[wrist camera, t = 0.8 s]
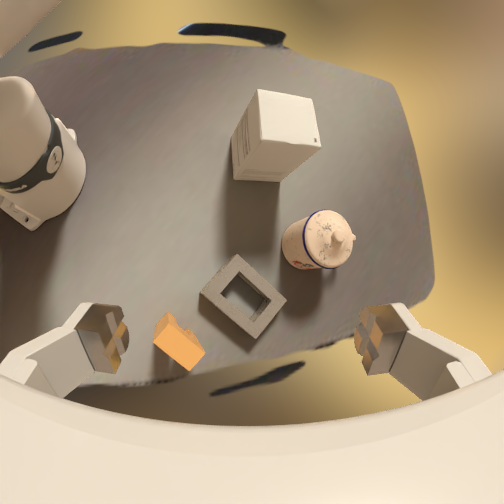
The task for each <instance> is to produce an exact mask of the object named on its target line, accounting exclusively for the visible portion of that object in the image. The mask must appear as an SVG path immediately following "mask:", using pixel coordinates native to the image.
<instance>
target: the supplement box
mask: <svg viewBox="0 0 504 504" xmlns="http://www.w3.org/2000/svg"><path fill="white" fill-rule="evenodd" d="M231 144H232V162H233V179H234V180H251V181H271V182H281V181H282V180H283V179H284V178H285V177H287V176H288V175H289V174H290V173H291V172H293V171H294V170H295V169H296V168H297V167H299V166H300V165H301V164H302V163H303V162H305V161H306V160H307V159H308V158H309V157H311V156H312V155H313V154H314V153H316V152H317V151H318V150H319V149H321V143H320V138H319V133H318V128H317V123H316V117H315V112H314V106H313V102H312V99H309V98H304V97H299V96H294V95H289V94H283V93H278V92H272V91H266V90H259V89H257V90H256V92H255V94H254V96H253V97H252V99H251V101H250V103H249V105H248V107H247V108H246V110H245V112H244V114H243V116H242V118H241V119H240V121H239V123H238V125H237V127H236V129H235V131H234V133H233V135H232V137H231Z"/></svg>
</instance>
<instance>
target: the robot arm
mask: <svg viewBox="0 0 504 504" xmlns="http://www.w3.org/2000/svg"><path fill="white" fill-rule="evenodd" d="M60 1H61V0H0V59H1V58H2V57H3V56H4V55H5V54H6V53H7V52H8V51H9V50H10V49H11V48H13V46H15V45H16V44H17V43H18V42H19V41H20V40H22V39H23V38H24V37H25V36H26V35H27V34H28V33H29V32H30V31H31V30H32V29H33V28H34V27H35V26H36V25H37V24H38V23H39V22H40V21H41V20H42V19H43V18H44V17H45V16H46V15H47V14H48V13H49V12H50V11H51V10H52V9H53V8H54V7H55V6H56V5H57V4H58V3H59V2H60ZM85 174H86V164H85V159H84V156H83V154H82V152H81V151H80V149H79V148H78V145H77V137H76V133H75V132H74V130H72V129H66V128H65V126H64V125H63V124H62V122H61V121H60V120H59V119H58V118H56V119H55V118H54V117H53V116H52V114H50V112H49V111H48V110H47V109H45V108H44V107H43V105H42V103H41V101H40V99H39V98H38V96H37V94H36V92H35V90H34V88H33V86H32V85H31V84H30V83H29V82H28V81H27V80H25V79H24V78H21V77H15V76H12V77H4V78H0V208H1V209H3V210H4V211H5V212H6V213H8V214H9V215H10V216H11V217H13V218H14V219H15V220H17V221H18V222H19V223H21V224H22V225H23V226H25V227H26V228H27V229H29V230H30V231H33V230H35V229H37V228H38V227H39V226H40V225H41V224H42V223H43V222H44V221H45V220H47V219H50V218H52V217H55V216H57V215H59V214H61V213H62V212H64V211H65V210H66V209H67V208H68V207H69V206H70V205H71V204H72V203H73V202H74V201H75V199H76V198H77V196H78V195H79V193H80V191H81V189H82V186H83V183H84V180H85ZM27 218H29V220H28V222H27V221H26V220H27ZM123 317H124V315H123V312H122V308H121V307H119V306H116V305H107V304H98V303H87V302H84V303H81V304H80V305H79V306H78V307H77V309H76V310H75V311H74V312H73V314H72V315H71V316H70V317H69V319H68V320H67V321H66V322H65V324H64V325H63V326H62V327H57V328H55V329H53V330H51V331H49V332H47V333H45V334H43V335H41V336H39V337H37V338H35V339H33V340H31V341H29V342H27V343H25V344H23V345H21V346H19V347H17V348H15V349H14V350H12V351H10V352H9V354H8V355H7V356H6V357H5V359H4V360H3V361H2V363H1V364H0V504H504V369H503V370H501V371H499V372H497V373H495V374H493V375H492V374H491V372H490V371H489V369H488V368H487V367H486V365H485V364H484V363H483V361H482V360H481V359H480V357H479V356H478V355H477V354H476V353H474V352H472V351H470V350H468V349H466V348H464V347H462V346H460V345H458V344H456V343H454V342H452V341H450V340H448V339H447V338H445V337H442V336H441V335H439V334H437V333H435V332H433V331H431V330H429V329H426V328H425V329H422V327H421V326H420V325H419V323H418V322H417V321H416V319H415V318H414V317H413V316H412V314H411V313H410V312H409V310H408V309H407V308H406V307H405V305H404V304H402V303H394V304H388V305H377V306H366V307H362V309H361V311H360V315H359V318H360V320H361V323H360V324H359V325H358V326H357V327H356V330H355V335H354V343H355V348H356V350H357V352H358V354H360V355H361V356H363V360H362V364H363V366H364V369H365V371H366V373H367V375H375V374H382V373H389V372H390V373H389V374H390V375H392V376H393V377H394V378H395V379H397V380H398V381H399V382H400V383H402V384H403V385H404V386H405V387H407V388H408V389H409V390H410V391H411V392H413V393H414V394H415V395H416V396H418V397H419V398H420V399H421V400H422V401H421V402H417V403H414V404H411V405H406V406H403V407H399V408H395V409H391V410H386V411H382V412H378V413H373V414H368V415H363V416H357V417H351V418H345V419H339V420H332V421H324V422H315V423H306V424H293V425H278V426H213V425H199V424H186V423H177V422H168V421H160V420H154V419H147V418H141V417H135V416H130V415H124V414H120V413H115V412H111V411H106V410H102V409H98V408H94V407H90V406H86V405H83V404H79V403H75V402H72V401H69V400H66V399H63V397H65V396H66V395H67V394H68V393H70V392H71V391H72V390H73V389H74V388H76V387H77V386H78V385H79V384H81V383H82V382H83V381H84V380H86V379H87V378H88V377H89V376H91V375H92V374H93V373H94V372H95V371H98V372H105V373H111V374H116V372H117V369H118V367H119V365H120V363H121V358H120V355H122V354H123V353H125V352H126V350H127V348H128V344H129V332H128V329H127V326H126V325H125V324H124V323H123V322H122V319H123Z"/></svg>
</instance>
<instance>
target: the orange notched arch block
mask: <svg viewBox="0 0 504 504" xmlns="http://www.w3.org/2000/svg"><path fill="white" fill-rule="evenodd" d="M153 343H154V344H156V345H157V346H158V347H159V348H160V349H162V350H163V351H164V352H165V353H167V354H168V355H169V356H170V357H172V358H173V359H174V360H175V361H177V362H178V363H179V364H181V365H182V366H183V367H184V368H186V369H187V370H188V371H190V370H191V369H192V368H193V367H194V366H195V364H196V363H197V362H198V361H199V360H200V359H201V358H202V356H203V355H204V354H205V351H204V350H203V348H202V346H201V345H200V343H199V341H198V340H197V338H196V336H195V335H194V333H192V332H191V331H190V330H189V329H188V328H187V329H186V330H185V331H184V330H183V329H181V328H180V327H179V326H178V325H177V323H176V320H175V317H174V316H172V315H171V314H170V313H169V312H167V313H166V314H165V315H164V316H163V317H162V319H161V320H160V321H159V322H158V323H157V324H156V326H155V332H154V338H153Z"/></svg>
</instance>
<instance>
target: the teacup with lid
mask: <svg viewBox="0 0 504 504" xmlns="http://www.w3.org/2000/svg"><path fill="white" fill-rule="evenodd" d="M355 240H356V238H355V235H354V234H352V232H351V229H350V227H349V225H348V223H347V222H346V220H345V219H344V218H343V217H342V216H341V215H339V214H338V213H336V212H334V211H330V210H320V211H317V212H315V213H313V214H312V215H311V216H309V217H307V218H305V219H302V220H300V221H298V222H295V223H293V224H292V225H290V226H289V227H288V228H287V229H286V231H285V233H284V235H283V238H282V250H283V253H284V256H285V258H286V259H287V261H288V262H289V263H290V264H291V265H292V266H294V267H296V268H298V269H303V270H306V269H317V268H325V269H333V268H337V267H339V266H340V265H342V264H343V263H344V262H345V261H346V260H347V259H348V257H349V256H350V253H351V251H352V246H353V242H354V241H355Z"/></svg>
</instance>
